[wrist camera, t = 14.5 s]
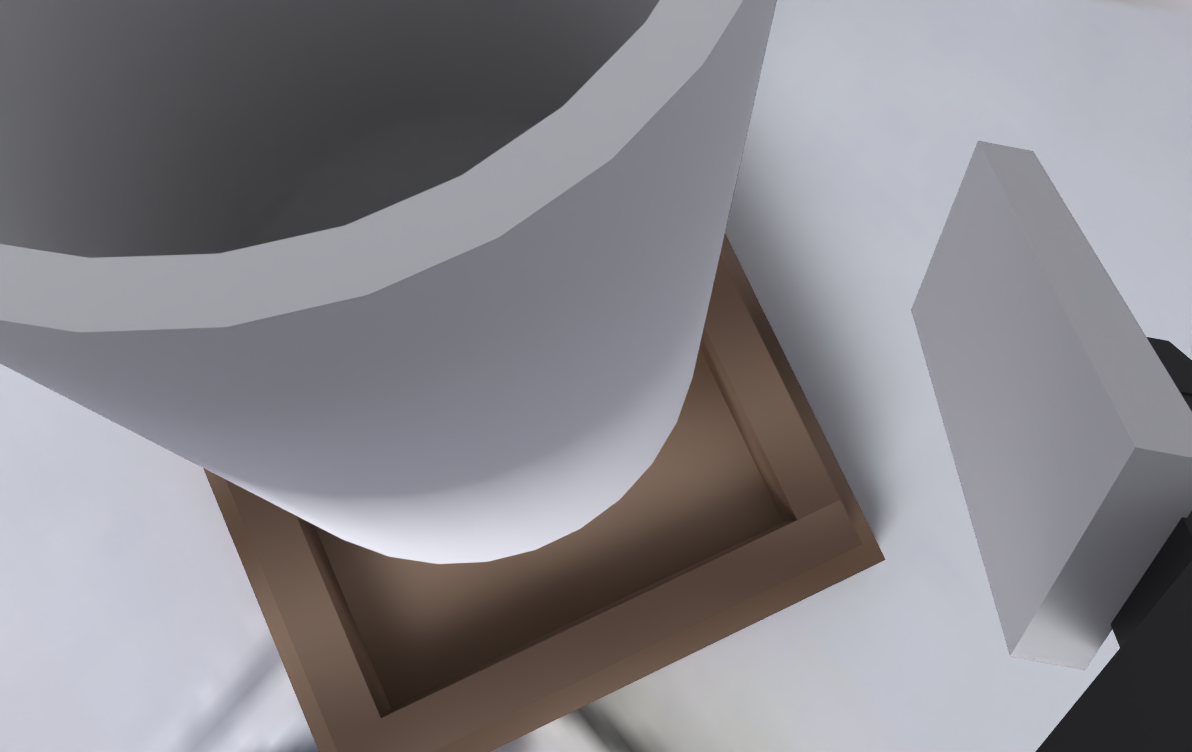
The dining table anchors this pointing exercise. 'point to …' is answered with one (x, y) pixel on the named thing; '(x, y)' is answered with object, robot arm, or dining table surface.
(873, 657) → the dining table surface
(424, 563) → the walnut stand
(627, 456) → the champagne flute
